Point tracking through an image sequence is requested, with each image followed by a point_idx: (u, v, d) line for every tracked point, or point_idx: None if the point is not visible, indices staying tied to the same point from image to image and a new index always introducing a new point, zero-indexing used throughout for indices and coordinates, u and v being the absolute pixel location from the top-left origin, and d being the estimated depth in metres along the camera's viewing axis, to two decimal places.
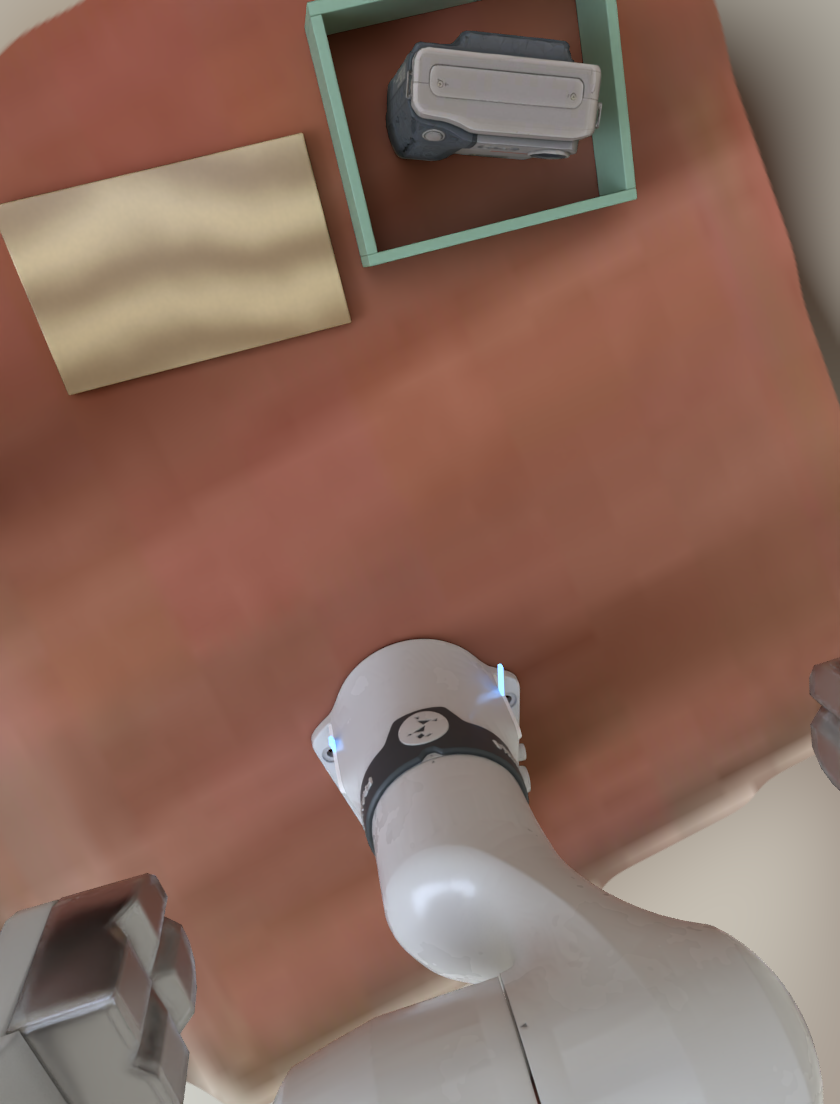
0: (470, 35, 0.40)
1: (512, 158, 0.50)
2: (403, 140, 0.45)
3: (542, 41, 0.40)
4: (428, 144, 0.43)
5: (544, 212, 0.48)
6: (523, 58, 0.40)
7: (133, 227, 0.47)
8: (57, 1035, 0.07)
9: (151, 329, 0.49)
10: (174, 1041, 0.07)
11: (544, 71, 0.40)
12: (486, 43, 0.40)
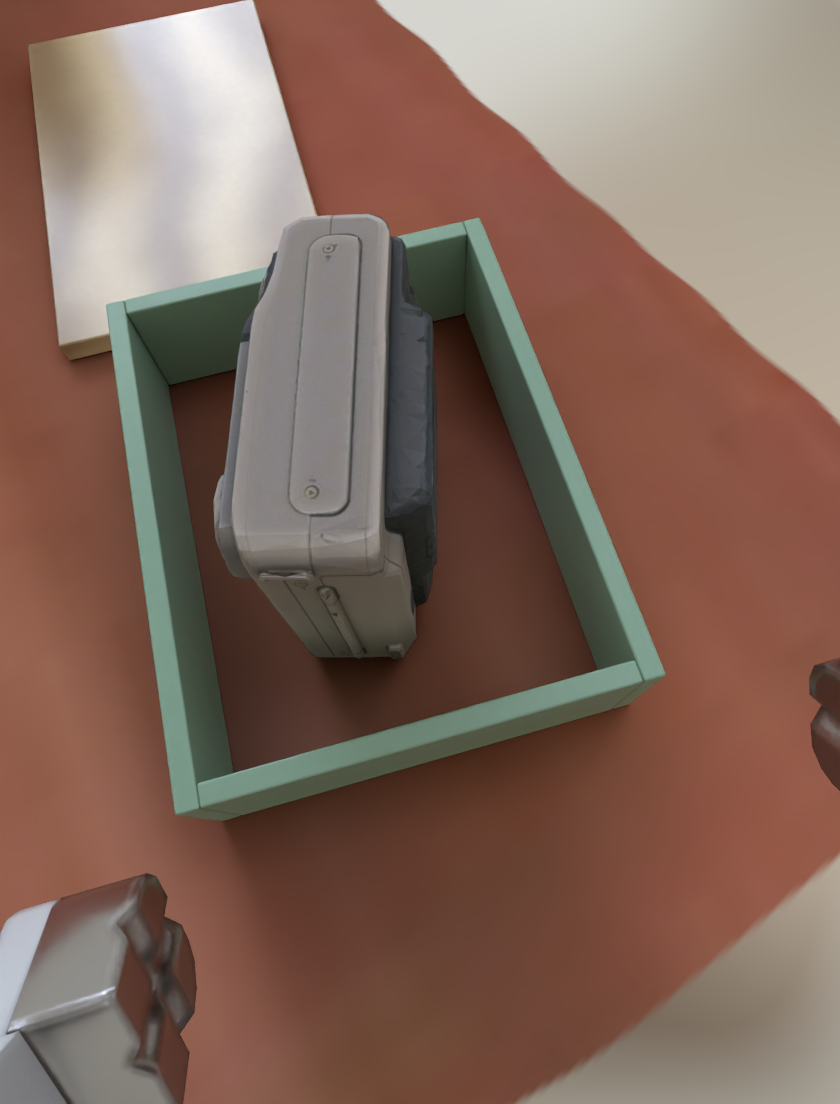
0: (422, 317, 0.21)
1: None
2: None
3: (424, 448, 0.19)
4: None
5: (164, 596, 0.23)
6: (380, 387, 0.19)
7: (222, 108, 0.36)
8: (57, 1035, 0.07)
9: (93, 120, 0.36)
10: (174, 1041, 0.07)
11: (359, 428, 0.18)
12: (411, 344, 0.20)
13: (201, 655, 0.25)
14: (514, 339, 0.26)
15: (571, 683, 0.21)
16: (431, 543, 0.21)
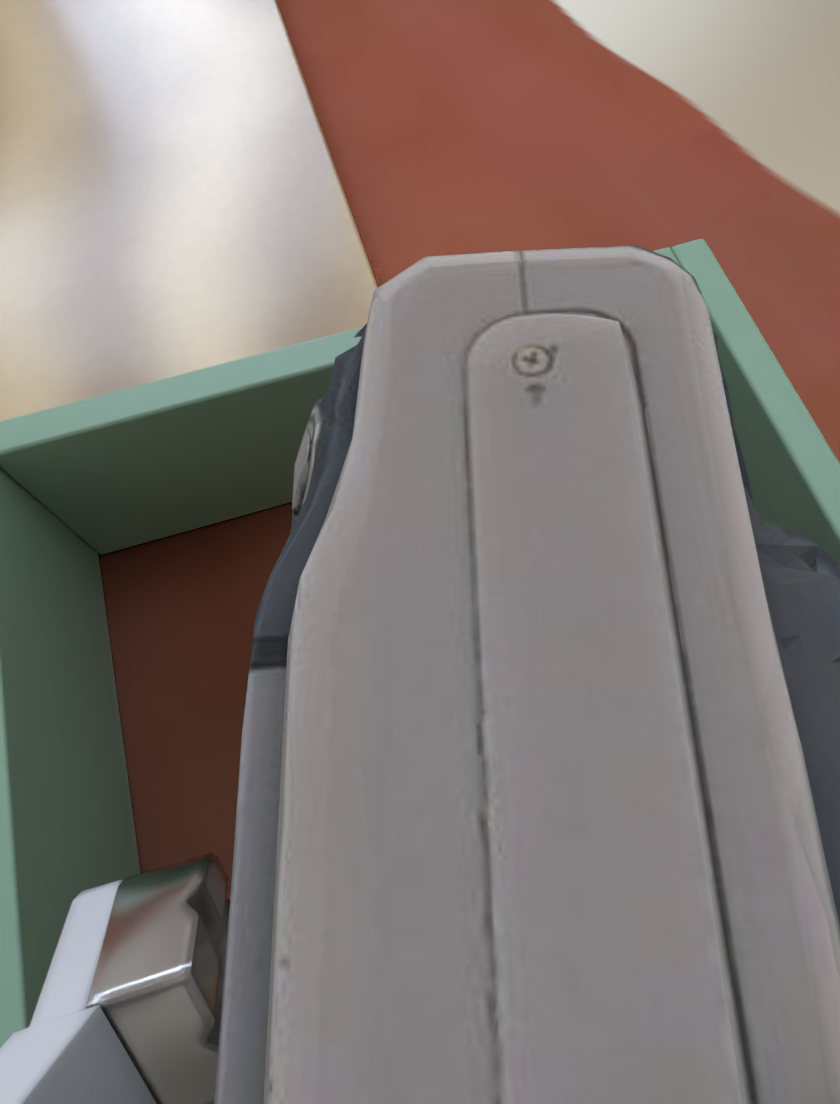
0: (830, 575, 0.06)
1: None
2: None
3: None
4: None
5: None
6: (836, 958, 0.05)
7: (194, 64, 0.22)
8: (135, 1010, 0.07)
9: None
10: None
11: None
12: (821, 679, 0.06)
13: None
14: (831, 505, 0.12)
15: None
16: None
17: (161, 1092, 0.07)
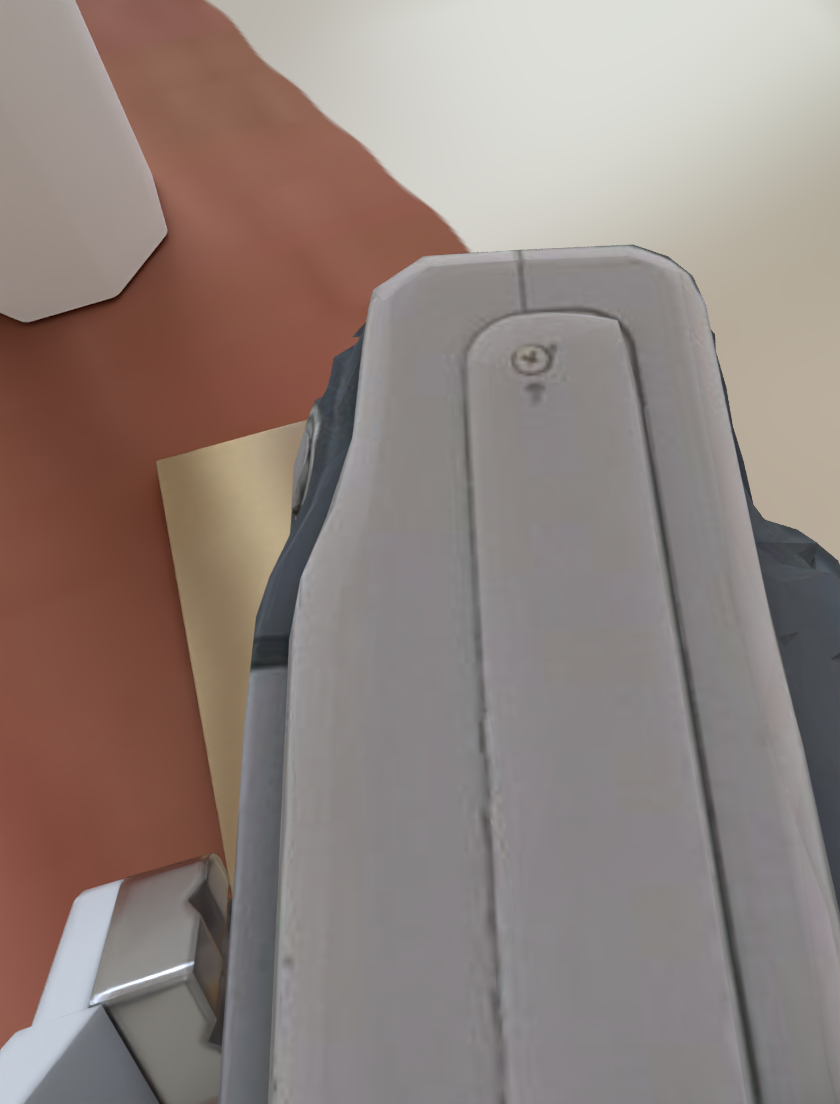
0: (829, 573, 0.06)
1: None
2: None
3: None
4: None
5: None
6: (839, 953, 0.05)
7: None
8: (137, 1009, 0.07)
9: (255, 590, 0.27)
10: None
11: None
12: (820, 676, 0.06)
13: None
14: None
15: None
16: None
17: (163, 1092, 0.07)
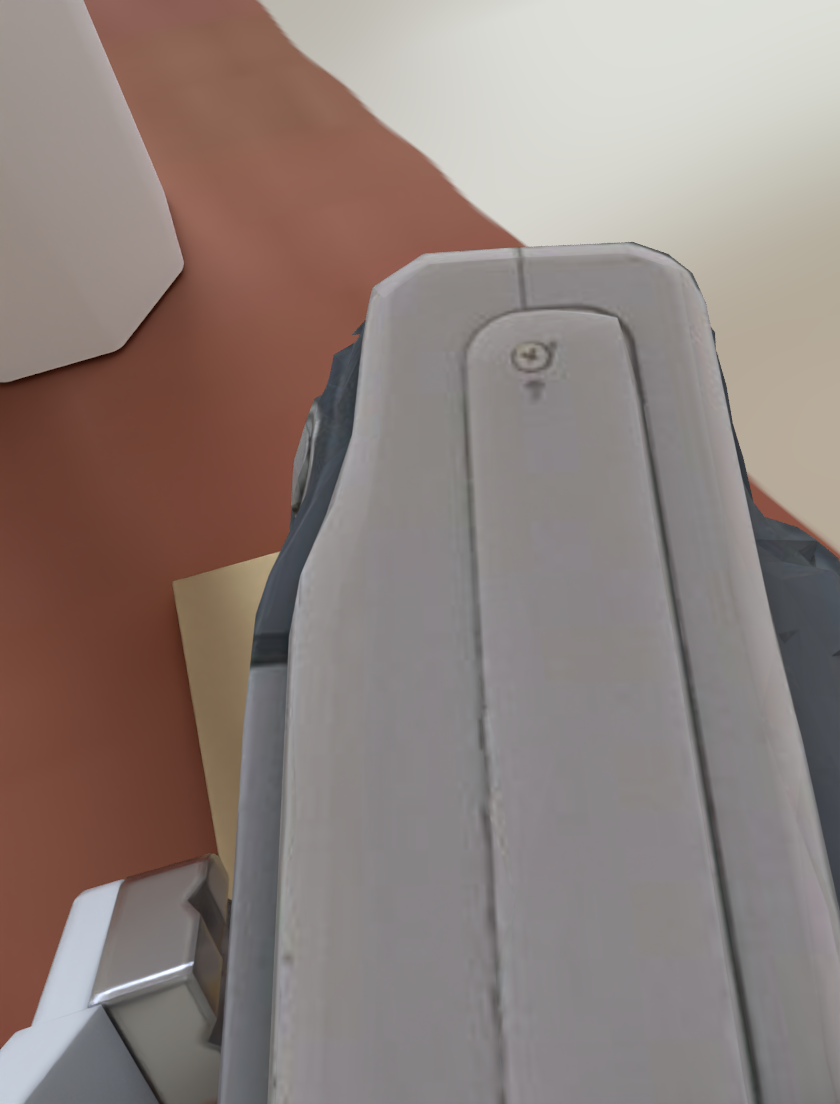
0: (829, 571, 0.06)
1: None
2: None
3: None
4: None
5: None
6: (837, 950, 0.05)
7: None
8: (137, 1009, 0.07)
9: None
10: None
11: None
12: (821, 673, 0.06)
13: None
14: None
15: None
16: None
17: (163, 1092, 0.07)
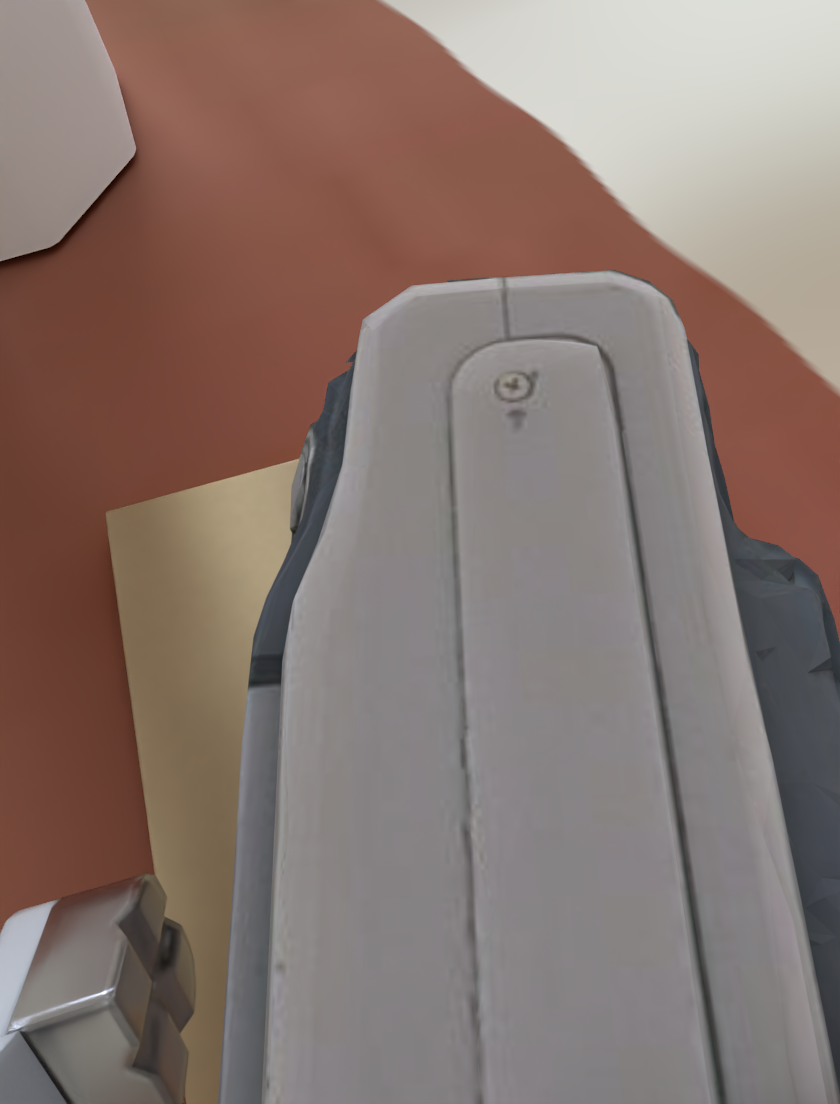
0: (806, 589, 0.07)
1: None
2: None
3: None
4: None
5: None
6: (801, 961, 0.05)
7: None
8: (57, 1035, 0.07)
9: None
10: (174, 1041, 0.07)
11: None
12: (797, 689, 0.06)
13: None
14: None
15: None
16: None
17: None
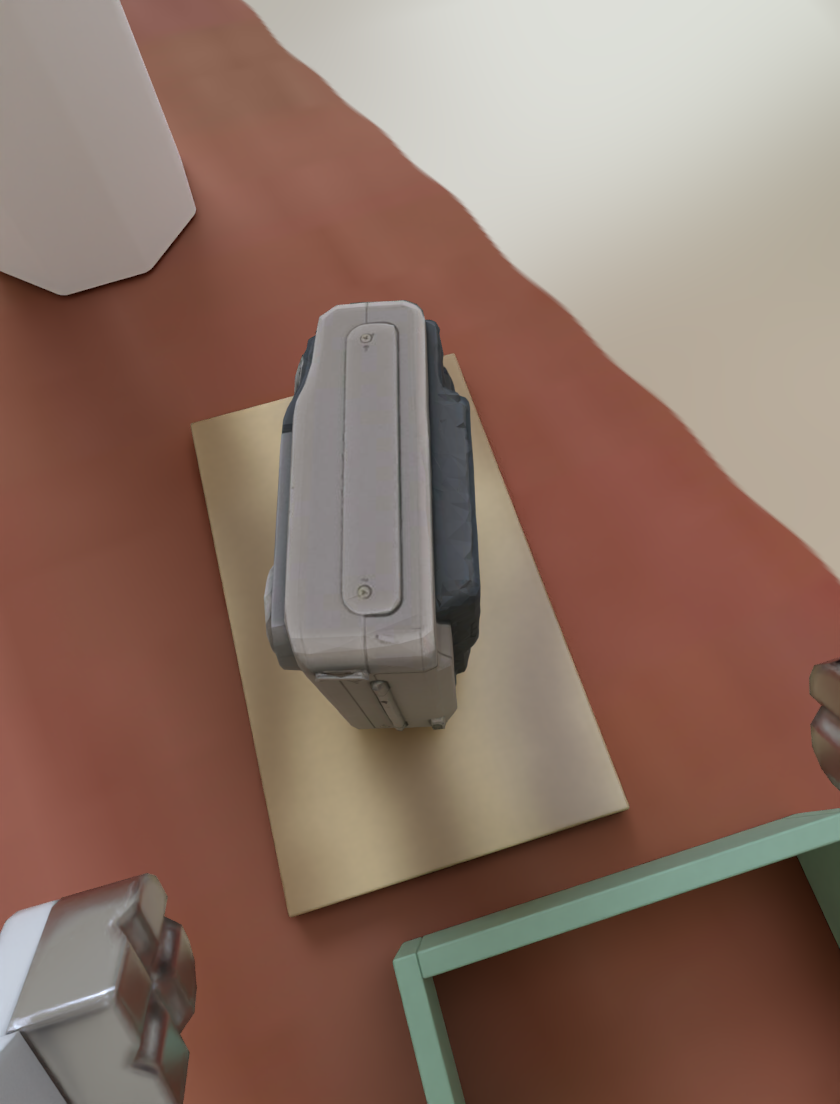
0: (460, 403, 0.21)
1: None
2: None
3: (471, 538, 0.19)
4: None
5: None
6: (425, 480, 0.19)
7: None
8: (57, 1035, 0.07)
9: None
10: (174, 1041, 0.07)
11: (407, 524, 0.18)
12: (451, 431, 0.20)
13: None
14: None
15: None
16: (476, 625, 0.21)
17: None
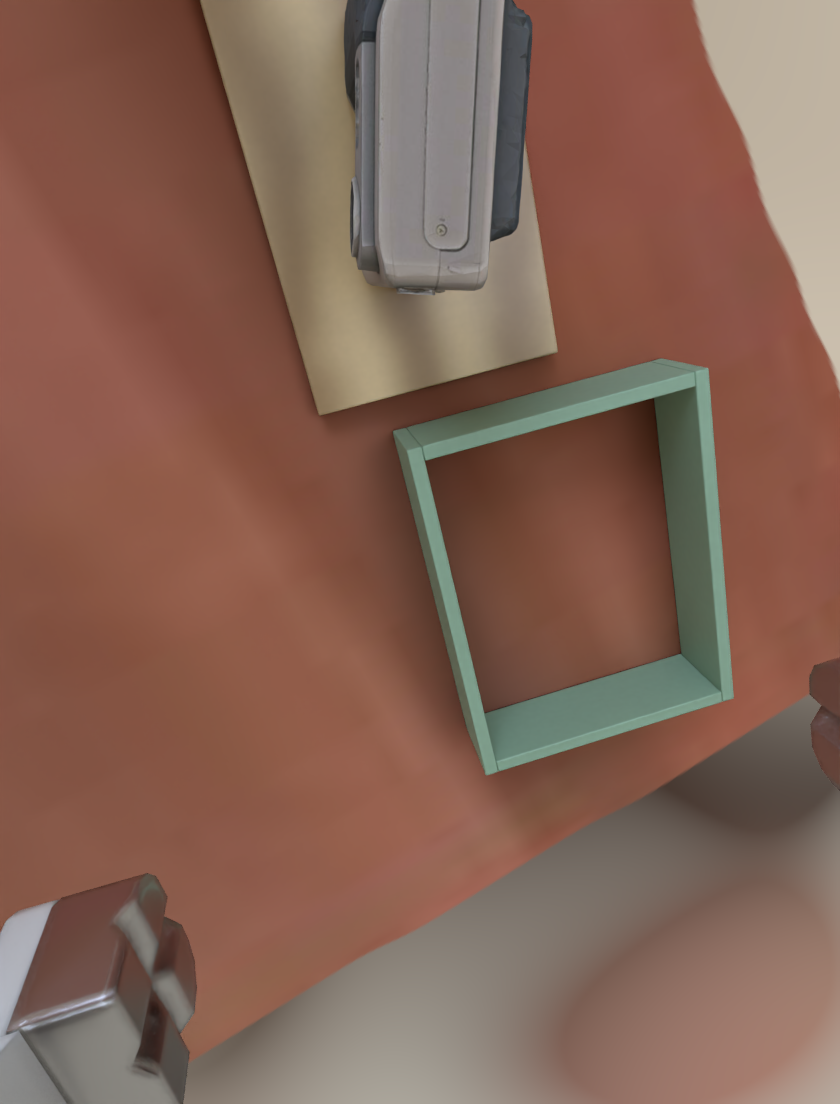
0: (526, 28, 0.23)
1: None
2: None
3: (517, 178, 0.24)
4: None
5: (472, 673, 0.37)
6: (494, 126, 0.23)
7: None
8: (57, 1035, 0.07)
9: (295, 85, 0.30)
10: (174, 1041, 0.07)
11: (476, 169, 0.23)
12: (514, 62, 0.23)
13: None
14: (707, 489, 0.36)
15: (687, 705, 0.40)
16: None
17: None
